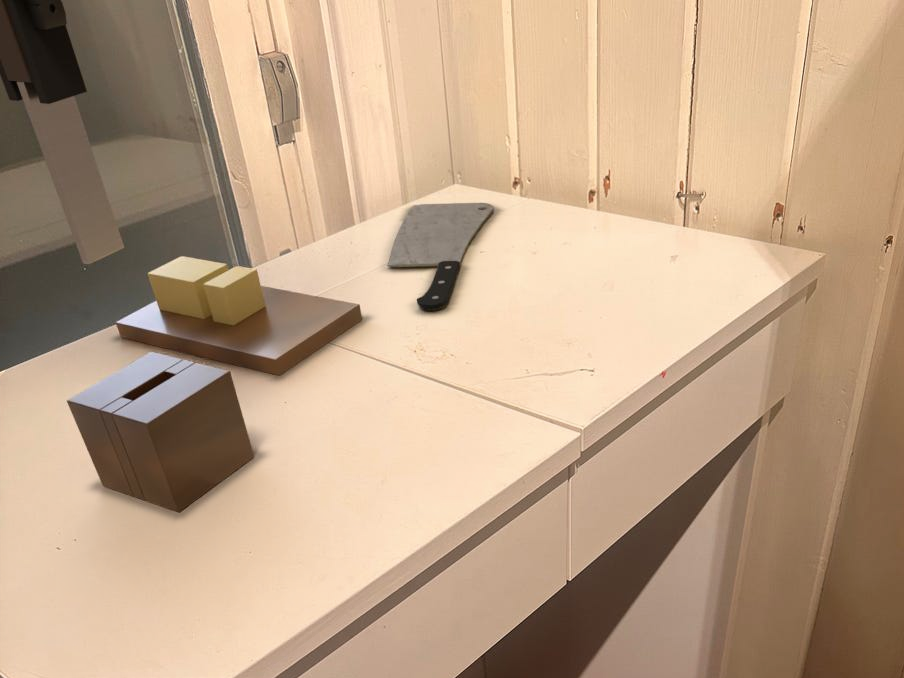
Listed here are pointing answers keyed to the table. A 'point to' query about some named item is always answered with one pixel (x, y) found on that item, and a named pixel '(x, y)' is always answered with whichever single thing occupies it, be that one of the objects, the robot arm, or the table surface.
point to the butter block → (185, 285)
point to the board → (249, 330)
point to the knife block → (163, 429)
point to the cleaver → (437, 243)
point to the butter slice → (234, 295)
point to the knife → (64, 155)
